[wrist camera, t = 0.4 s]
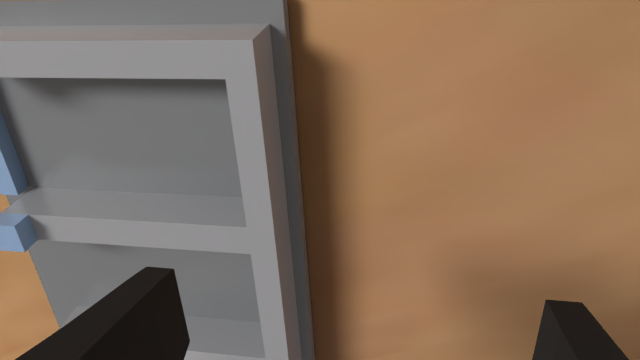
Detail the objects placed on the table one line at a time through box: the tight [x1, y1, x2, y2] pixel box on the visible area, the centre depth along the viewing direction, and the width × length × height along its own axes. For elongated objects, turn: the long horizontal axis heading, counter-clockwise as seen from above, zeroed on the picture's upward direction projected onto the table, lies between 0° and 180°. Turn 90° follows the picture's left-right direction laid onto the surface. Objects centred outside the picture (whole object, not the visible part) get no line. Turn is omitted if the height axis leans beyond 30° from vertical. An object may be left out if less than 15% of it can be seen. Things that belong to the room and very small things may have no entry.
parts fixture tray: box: [0, 0, 315, 360], centre depth 22 cm, size 23×13×3 cm, turn 3°
